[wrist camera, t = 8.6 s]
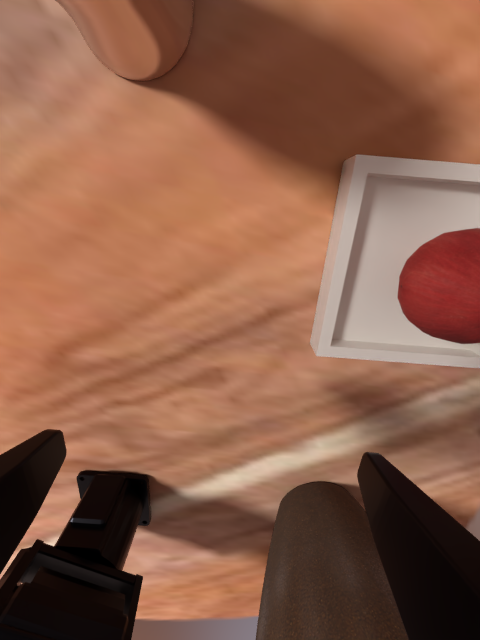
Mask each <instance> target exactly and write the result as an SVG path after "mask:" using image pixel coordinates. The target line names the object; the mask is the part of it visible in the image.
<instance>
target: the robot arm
mask: <svg viewBox="0 0 480 640" xmlns="http://www.w3.org/2000/svg"><path fill="white" fill-rule="evenodd" d="M65 457H66V446H65V441H64V436H63V432H62V431H60V430H52V429H47V430H44V431H42V432H40V433H39V434H37V435H35V436H33V437H31V438H30V439H28V440H26V441H24V442H23V443H21V444H19V445H17V446H15V447H14V448H12V449H10V450H8V451H7V452H5V453H3V454H1V455H0V574H1V572H2V571H3V569H4V567H5V566H6V564H7V562H8V561H9V559H10V558H11V556H12V554H13V553H14V551H15V549H16V548H17V546H18V545H19V543H20V541H21V540H22V538H23V536H24V535H25V533H26V532H27V530H28V528H29V527H30V525H31V523H32V522H33V520H34V518H35V517H36V515H37V513H38V511H39V509H40V507H41V506H42V504H43V502H44V500H45V498H46V496H47V494H48V492H49V490H50V488H51V486H52V484H53V482H54V480H55V478H56V476H57V474H58V472H59V470H60V468H61V466H62V464H63V462H64V460H65ZM357 477H358V482H359V486H360V490H361V494H362V498H363V502H364V506H365V510H366V514H367V518H368V522H369V526H370V529H371V533H372V536H373V540H374V543H375V546H376V549H377V552H378V554H379V557H380V560H381V563H382V566H383V569H384V571H385V574H386V577H387V580H388V583H389V585H390V588H391V591H392V594H393V597H394V600H395V602H396V605H397V608H398V611H399V614H400V617H401V619H402V622H403V625H404V628H405V631H406V633H407V636H408V639H409V640H480V541H479V540H478V539H477V538H476V537H474V536H473V535H472V534H471V533H470V532H469V531H468V530H466V529H465V528H464V527H463V526H462V525H461V524H460V523H458V522H457V521H456V520H455V519H454V518H453V517H452V516H450V515H449V514H448V513H447V512H446V511H445V510H444V509H442V508H441V507H440V506H439V505H438V504H437V503H436V502H434V501H433V500H432V499H431V498H430V497H429V496H428V495H426V494H425V493H424V492H423V491H422V490H421V489H420V488H418V487H417V486H416V485H415V484H414V483H413V482H412V481H410V480H409V479H408V478H407V477H406V476H405V475H404V474H402V473H401V472H400V471H399V470H398V469H397V468H396V467H394V466H393V465H392V464H391V463H390V462H389V461H388V460H386V459H385V458H384V457H383V456H382V455H380V454H379V453H372V452H365V453H364V454H363V456H362V459H361V463H360V466H359V469H358V474H357ZM77 483H78V488H79V493H80V498H81V500H80V502H79V504H78V506H77V507H76V509H75V511H74V513H73V514H72V516H71V518H70V520H69V521H68V523H67V525H66V527H65V528H64V530H63V532H62V534H61V535H60V537H59V539H58V541H57V542H56V544H55V546H54V547H53V546H51V545H48V544H45V543H43V542H44V541H41V540H39V539H37V540H36V541H35V543H34V544H33V546H32V547H30V548H26V549H21V550H20V551H19V553H18V554H17V556H16V557H15V559H14V560H13V562H12V563H11V565H10V566H9V568H8V569H7V571H6V572H5V574H4V575H3V577H2V578H1V579H0V640H131V637H132V632H133V626H134V622H135V616H136V611H137V606H138V601H139V595H140V590H141V585H142V580H143V576H140V575H138V574H136V575H133V574H130V573H127V572H124V571H122V570H123V567H124V564H125V561H126V558H127V555H128V552H129V549H130V547H131V544H132V541H133V538H134V535H135V532H136V529H137V526H138V525H142V526H147V525H149V524H150V520H151V511H150V496H149V480H148V478H147V477H146V476H144V475H131V474H117V473H103V472H89V471H81V472H80V473H79V474H78V476H77ZM21 583H23V584H21ZM20 584H21V585H20Z"/></svg>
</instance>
